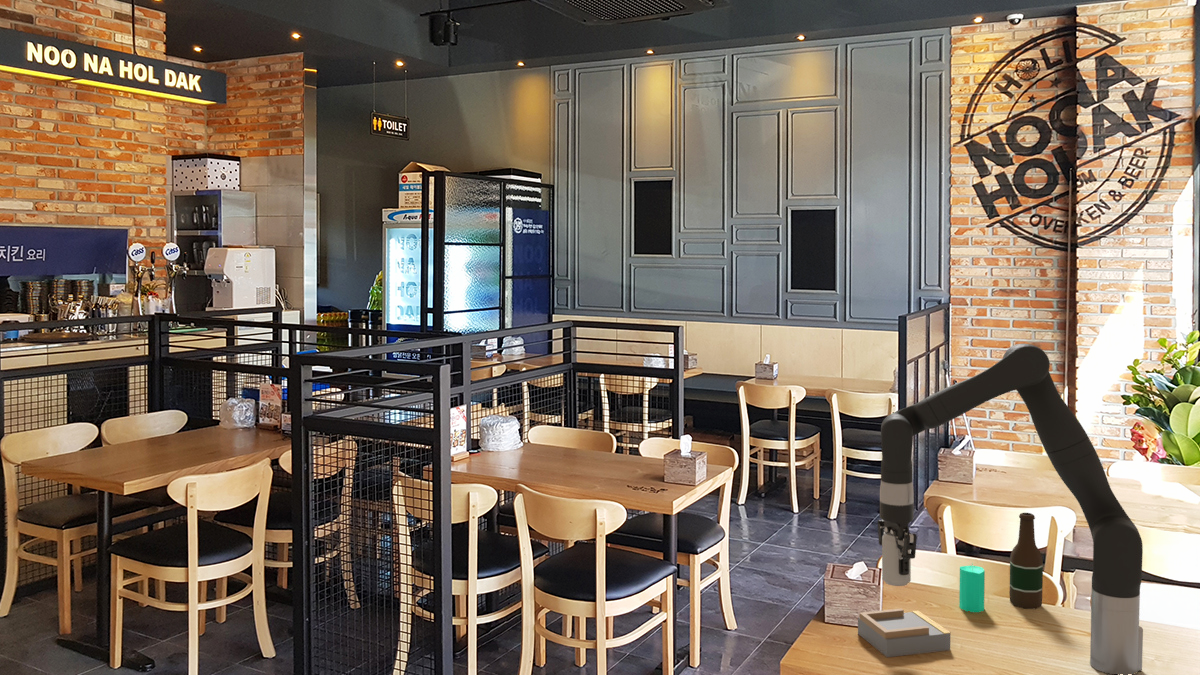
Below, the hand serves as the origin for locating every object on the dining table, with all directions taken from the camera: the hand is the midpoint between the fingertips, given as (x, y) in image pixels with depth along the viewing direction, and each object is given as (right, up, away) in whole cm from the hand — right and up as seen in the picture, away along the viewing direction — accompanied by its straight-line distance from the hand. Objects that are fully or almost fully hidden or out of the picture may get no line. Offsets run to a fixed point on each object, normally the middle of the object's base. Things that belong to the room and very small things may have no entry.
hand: (896, 569), depth 218 cm
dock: (+2, -17, +2) cm, 18 cm away
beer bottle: (+41, -15, +24) cm, 50 cm away
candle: (+27, -16, +22) cm, 38 cm away
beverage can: (0, -3, 0) cm, 3 cm away
